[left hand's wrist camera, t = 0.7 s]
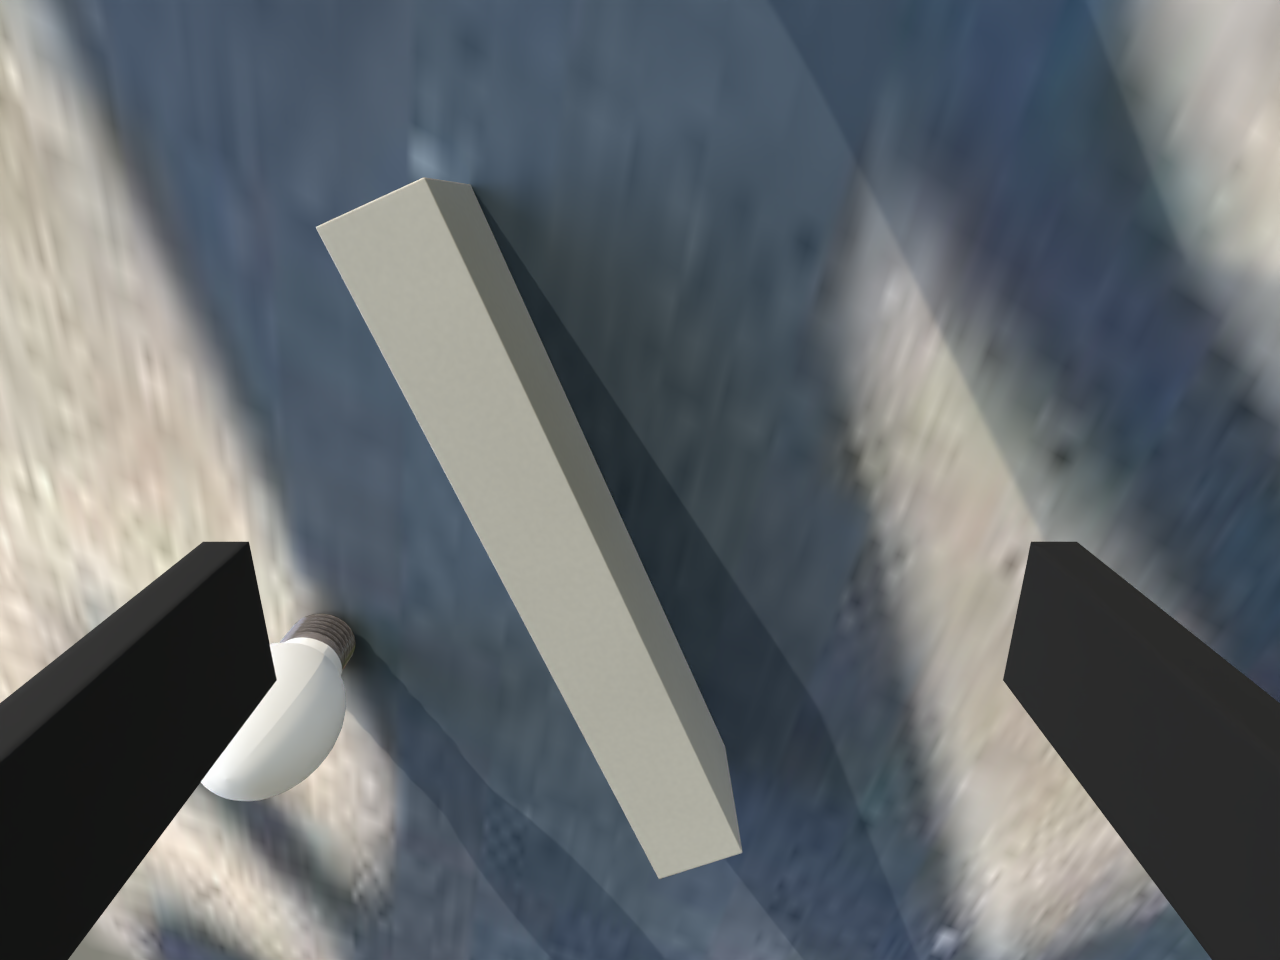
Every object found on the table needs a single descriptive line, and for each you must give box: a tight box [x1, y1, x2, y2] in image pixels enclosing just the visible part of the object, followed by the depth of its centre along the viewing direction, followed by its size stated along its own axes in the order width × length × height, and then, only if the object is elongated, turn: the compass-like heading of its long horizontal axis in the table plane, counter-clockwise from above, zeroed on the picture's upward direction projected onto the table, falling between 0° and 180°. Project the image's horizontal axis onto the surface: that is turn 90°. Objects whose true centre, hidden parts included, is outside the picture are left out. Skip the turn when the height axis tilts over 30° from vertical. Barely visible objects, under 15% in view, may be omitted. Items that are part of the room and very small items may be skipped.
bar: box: [316, 178, 742, 879], centre depth 38 cm, size 35×5×8 cm, turn 22°
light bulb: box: [201, 614, 355, 801], centre depth 39 cm, size 7×7×11 cm
